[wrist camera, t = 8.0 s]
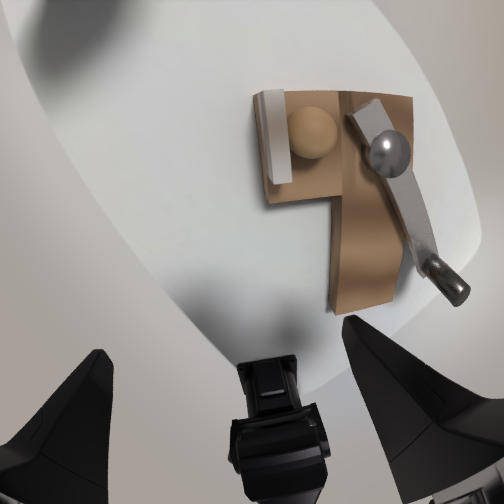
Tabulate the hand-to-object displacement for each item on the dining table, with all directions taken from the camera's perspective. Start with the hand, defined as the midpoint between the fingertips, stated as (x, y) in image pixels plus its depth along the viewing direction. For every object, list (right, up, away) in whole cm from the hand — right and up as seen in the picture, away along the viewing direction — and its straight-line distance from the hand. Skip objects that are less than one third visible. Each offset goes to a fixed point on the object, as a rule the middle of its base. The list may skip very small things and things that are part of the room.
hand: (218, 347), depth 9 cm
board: (+8, +6, +11) cm, 15 cm away
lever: (+12, +7, +9) cm, 17 cm away
